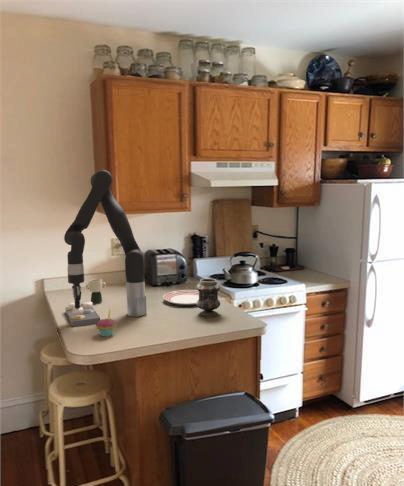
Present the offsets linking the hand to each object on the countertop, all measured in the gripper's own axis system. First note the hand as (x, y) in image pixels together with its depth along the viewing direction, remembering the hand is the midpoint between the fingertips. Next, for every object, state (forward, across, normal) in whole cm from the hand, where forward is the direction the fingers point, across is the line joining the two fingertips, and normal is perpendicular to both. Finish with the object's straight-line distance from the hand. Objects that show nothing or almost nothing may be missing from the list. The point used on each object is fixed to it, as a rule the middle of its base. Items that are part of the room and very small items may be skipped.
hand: (77, 307), depth 204 cm
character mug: (+8, +33, -15) cm, 37 cm away
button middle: (+3, +8, -6) cm, 10 cm away
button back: (+4, +16, 0) cm, 16 cm away
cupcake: (+7, -23, -9) cm, 26 cm away
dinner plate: (+7, +13, -62) cm, 64 cm away
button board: (+7, +8, -3) cm, 11 cm away
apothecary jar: (+7, -16, -62) cm, 65 cm away
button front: (+3, 0, 0) cm, 3 cm away
